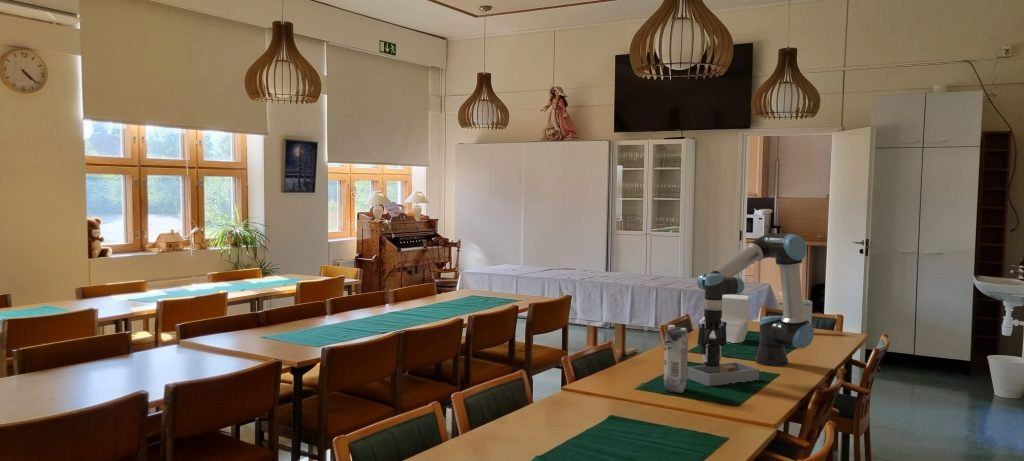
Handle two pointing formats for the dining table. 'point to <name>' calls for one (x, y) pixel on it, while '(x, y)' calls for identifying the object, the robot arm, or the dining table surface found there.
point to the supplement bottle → (713, 353)
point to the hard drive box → (806, 310)
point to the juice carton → (675, 359)
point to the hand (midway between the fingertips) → (711, 360)
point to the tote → (722, 374)
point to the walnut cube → (727, 368)
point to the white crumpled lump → (734, 317)
